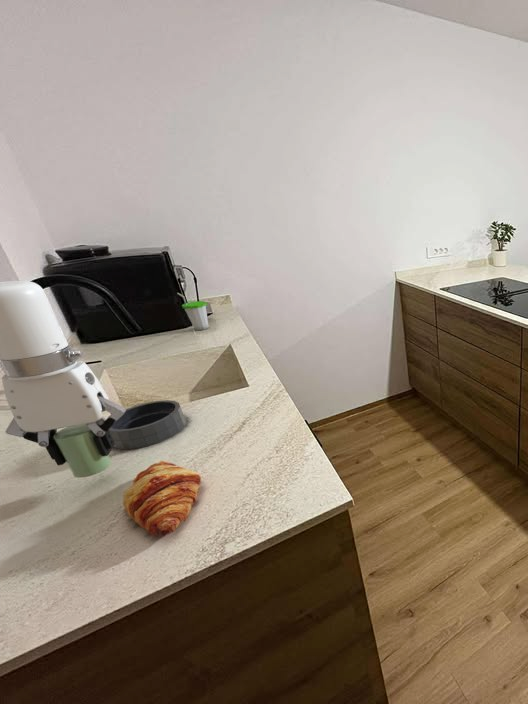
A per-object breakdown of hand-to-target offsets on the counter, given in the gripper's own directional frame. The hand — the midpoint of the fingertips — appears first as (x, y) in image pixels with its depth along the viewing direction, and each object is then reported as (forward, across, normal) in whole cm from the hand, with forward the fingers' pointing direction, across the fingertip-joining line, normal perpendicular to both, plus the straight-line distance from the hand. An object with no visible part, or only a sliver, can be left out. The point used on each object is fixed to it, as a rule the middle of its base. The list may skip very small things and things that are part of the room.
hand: (86, 455), depth 66 cm
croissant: (+6, -13, +11) cm, 18 cm away
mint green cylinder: (+3, 0, 0) cm, 3 cm away
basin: (+7, -4, -16) cm, 17 cm away
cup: (+8, 0, -99) cm, 99 cm away
